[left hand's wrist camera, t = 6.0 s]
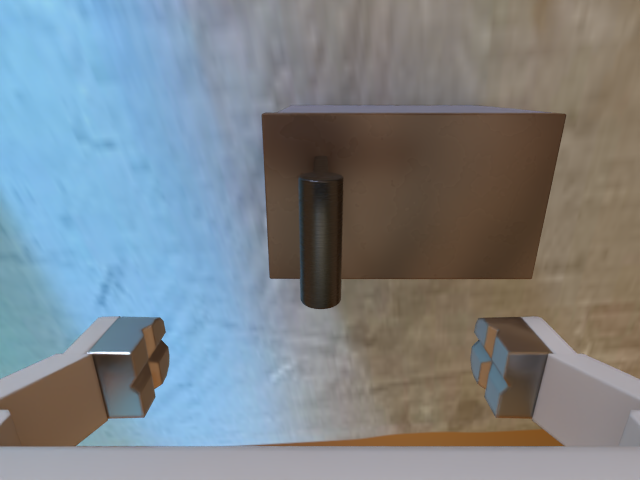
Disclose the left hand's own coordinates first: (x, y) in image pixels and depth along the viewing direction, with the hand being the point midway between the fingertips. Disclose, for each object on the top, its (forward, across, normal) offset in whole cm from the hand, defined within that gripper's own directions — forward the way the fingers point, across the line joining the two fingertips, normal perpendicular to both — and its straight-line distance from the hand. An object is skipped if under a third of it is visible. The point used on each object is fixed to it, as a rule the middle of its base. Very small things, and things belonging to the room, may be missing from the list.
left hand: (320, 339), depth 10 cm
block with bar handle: (+15, -5, 0) cm, 15 cm away
